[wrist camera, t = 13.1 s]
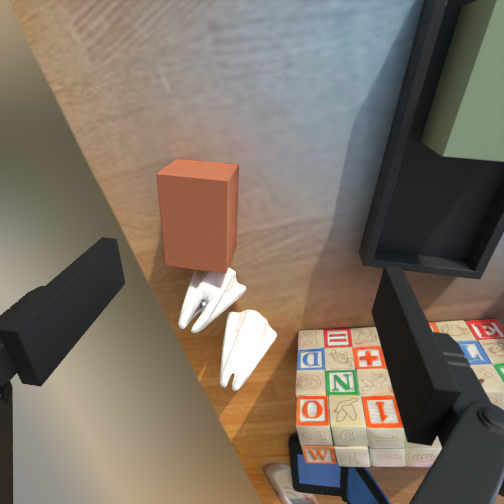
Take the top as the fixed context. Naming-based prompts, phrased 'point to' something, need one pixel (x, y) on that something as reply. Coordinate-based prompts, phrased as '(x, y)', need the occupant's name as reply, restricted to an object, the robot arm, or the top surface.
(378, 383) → the stack of blocks
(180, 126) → the top surface
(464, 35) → the pale green rectangular block
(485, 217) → the backing tray
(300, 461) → the game console
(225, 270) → the terracotta rectangular block
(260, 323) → the shaker set
